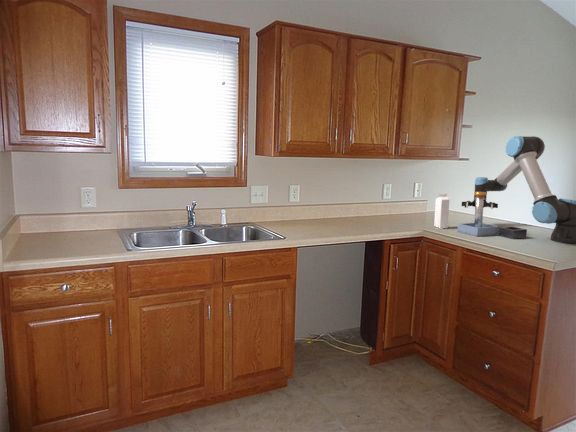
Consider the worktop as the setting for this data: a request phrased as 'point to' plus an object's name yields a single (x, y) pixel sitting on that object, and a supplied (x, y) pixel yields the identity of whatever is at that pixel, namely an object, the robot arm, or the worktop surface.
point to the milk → (441, 211)
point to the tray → (478, 229)
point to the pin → (479, 209)
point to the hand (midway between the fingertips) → (479, 206)
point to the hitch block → (512, 232)
